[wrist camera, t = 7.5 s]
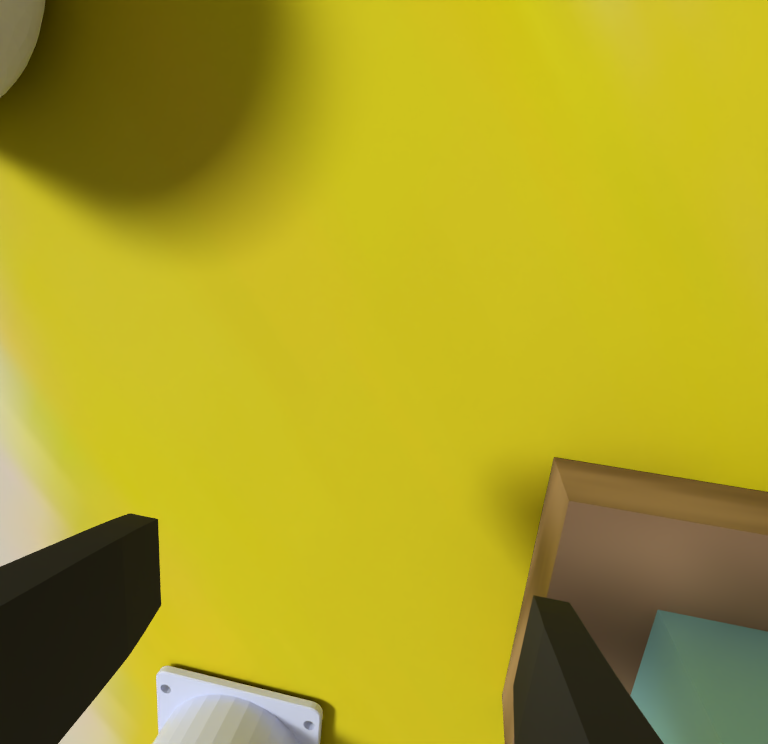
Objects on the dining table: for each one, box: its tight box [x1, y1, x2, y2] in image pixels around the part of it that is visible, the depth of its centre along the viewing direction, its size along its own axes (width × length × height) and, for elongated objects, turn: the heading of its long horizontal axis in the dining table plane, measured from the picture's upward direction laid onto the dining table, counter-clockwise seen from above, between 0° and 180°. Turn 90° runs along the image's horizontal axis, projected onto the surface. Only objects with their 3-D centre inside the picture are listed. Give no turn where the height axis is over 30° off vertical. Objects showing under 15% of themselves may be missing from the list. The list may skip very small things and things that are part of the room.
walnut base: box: [502, 457, 768, 744], centre depth 17 cm, size 11×11×3 cm
